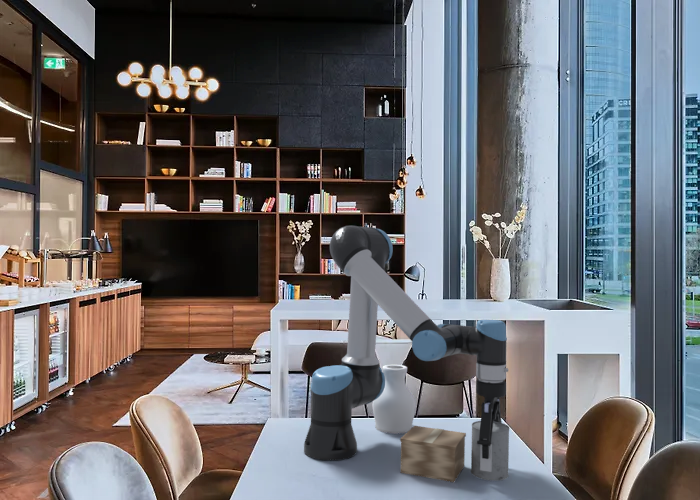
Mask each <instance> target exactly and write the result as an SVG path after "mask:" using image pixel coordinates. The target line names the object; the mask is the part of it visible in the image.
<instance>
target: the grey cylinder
mask: <svg viewBox="0 0 700 500" xmlns="http://www.w3.org/2000/svg"><path fill="white" fill-rule="evenodd" d="M480 423H481V420H477V421H474V422H472V423H471V454H470V455H471V463H470V464H471V465H470V466H471V469H470V473H471V475H472V476H474V477H476V478H477V479H480V480H485V481H490V482H492V481H493V482H500V481H504V480H506V479H508V478H509V456H510V455H509V454H510V451H509V449H510V448H509V447H510V446H509V445H510V442H509V441H510V426H508V424H505V423H503V422H502V423H500V422H495V421H494V422H493V430H492V438H491V445H492V471H491V472H488V471H482V470H480V444H477V441H479V435H480ZM483 440H487V439H483Z"/></svg>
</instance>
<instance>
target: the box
mask: <svg viewBox="0 0 700 500" xmlns="http://www.w3.org/2000/svg"><path fill="white" fill-rule="evenodd" d="M465 440H466V437H465V438H464V439H463V441H462V442H461V443H460V445H459V446H458V448H457V449H456V450H449V449H443V448H437V447H430V446H424V445H418V444H412V443H405V442H400V473H401V474H406V475H411V476H417V477H423V478H428V479H434V480H439V481H445V482H449V481H450V482H449V483H455V482H456V480H457V479H458V478H459V475H460V474H461V473H462V471H463V469H464V467H465V460H466V459H465V455H466V454H465V453H466V451H465V449H466V448H465V445H466V442H465Z"/></svg>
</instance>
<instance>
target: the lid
mask: <svg viewBox="0 0 700 500" xmlns="http://www.w3.org/2000/svg"><path fill="white" fill-rule="evenodd" d="M466 437H467V433H466V432H460V431H456V430H455V431H453V430H446V429H442V428H434V427H427V426H426V427H425V426H420V425H419V426H418V425H412V428H411V429H410V430H409V431H408V432H407V433H404V435H403V436H401V437H400V439H399V441H400V443H401V442H405V443H412V444H418V445H424V446H430V447H437V448H443V449H449V450H456V449H457V448H458V446H459V445H460V443H461V442H462V441H463V439H464V438H465V439H466Z"/></svg>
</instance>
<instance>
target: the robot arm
mask: <svg viewBox="0 0 700 500" xmlns="http://www.w3.org/2000/svg"><path fill="white" fill-rule="evenodd" d="M393 248H394V247H393V242H392V240H391V238H390V236H389V235H388V234H387V233H386V231H384V230H382V229H380V228H376V227H371V226H369V227H368V226H367V227H366V226H357V225H345V226H342V227H340V228H339V229H337V230H336V231H335V232H334V233H333V235H332V237H331V239H330V241H329V252H330V253H329V254H330V255H331V258H332V260H333V262H334V263H335V264H336V266H337V267H338V268H339V269H340V270H341V272H343V274H344V275H345V276H347V277H350V290H349V291H350V295H349V308H348V309H349V312H348V329H347V346H346V347H347V350H346V354H345V355H344V356H343V357H342V358H341V364H339V365H335V364H334V365H330V366H329V365H328V366H327V365H326V366H322V367H319V368H318V369H316V370H315V371H314V372H313V373H312V376H311V383H310V389H311V390H310V392H311V393H310V395H311V396H310V425H309V427H308V430H307V434H306V437H305V439H304V443H303V452H304V454H305V455H306V456H307V457H308V458H309V457H310V458H312V459H315V460H321V461H340V460H345V459H350V458H352V457H354V456H355V455H356V454H357V452H358V443H357V439H356V435H355V433H354V429H353V425H352V415H353V414H352V411H353V410H352V409H355V408H358V407H361V406H363V405H368V404H371V403H373V401H374V400H376V399H377V398H378V397H380V395H381V394H382V392H383V390H384V388H385V376H384V373H383V370H382V368H381V367H380V363H381V361H380V360H379V358H377V357H376V341H377V326H378V311H379V309H378V306H379V307H380V308H381V310H382V311H384V313H385V314H386V315H387V316H388V317H389V318H390V319H391V320H392V322H394V324H396V326H397V327H398V328H399V329H400V330H401V331H402V332H403V333H404V335H406V336H407V338H408V339H409V340H410V341H411V347H412V351H413V354H414V355H415V357H417V358H418V359H419V360H420V361H424V362H433V361H434V362H435V361H438V360H440V359H442V358H446V357H450V356H453V355H457V354H462V355H469V356H470V355H472V356H476V363H475V367H476V369H475V371H476V372H475V374H476V375H475V376H476V377H475V378H477V380H476V382H475V383H476V385H475V387H476V388H475V390H476V391H475V392H476V395H478V396H481V397H484V400H483V402H482V403H481V404H480V405H481V411H480V412H481V414H480V421H481V423H480V435H479V441H477V444H480V470H482V471H488V472H491V471H492V445H491V438H492V430H493V422H494V421H495V422H500V423H503V422H502V412H501V399H500V398H504V397H505V396H507V382H506V381H505V380H506V379H507V373H509V368H508V367H507V340H508V337H507V327H506V326H507V325H506V323H505V322H504V321H503V320H498V319H478V320H477V322H476V325H474V326H471V325H470V326H468V325H460V324H459V325H458V324H452V323H446V324H445V323H440V324H436V323H435V322H434V321H433V320H432V319H431V318H430V317H429V315H427V314H426V313H425V312H424V310H423V309H421V307H420V306H419V305H417V303H416V302H415V301H414V300H413V299H412V298H411V297H410V296H409V295H408V294H407V293H406V292H405V291H404V290H403V288H401V287H400V285H398V283H397V282H396V281H394V279H393V278H392V277H391V276H390V275H389V274H388V273H387V272H386V264H387V263H388V262H389V261H390V260H391V258H392V256H393ZM483 439H487V440H483Z"/></svg>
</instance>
